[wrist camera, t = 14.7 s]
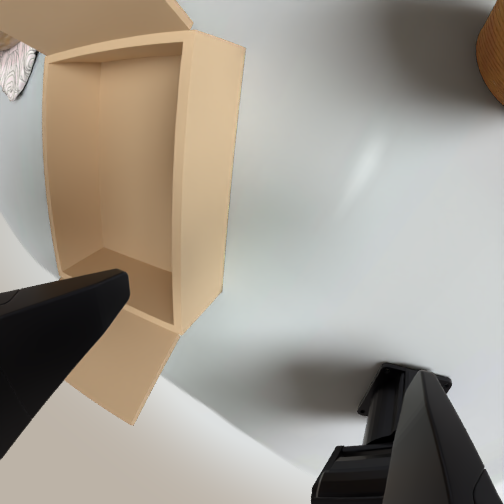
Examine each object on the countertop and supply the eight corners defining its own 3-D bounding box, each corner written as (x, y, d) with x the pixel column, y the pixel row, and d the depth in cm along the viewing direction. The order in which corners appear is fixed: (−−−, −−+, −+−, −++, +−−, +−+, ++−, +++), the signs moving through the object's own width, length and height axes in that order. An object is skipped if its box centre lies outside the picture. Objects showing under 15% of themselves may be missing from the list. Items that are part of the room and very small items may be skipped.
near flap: (47, 56, 16) (50, 50, 16) (189, 30, 12) (193, 22, 12) (-23, 18, 9) (-20, 12, 9) (104, -64, 6) (111, -71, 6)
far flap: (177, 334, 21) (180, 336, 21) (61, 276, 24) (64, 279, 25) (130, 424, 17) (133, 425, 17) (19, 342, 21) (23, 345, 21)
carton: (221, 291, 26) (181, 335, 21) (104, 248, 29) (59, 275, 24) (245, 48, 17) (195, 29, 12) (102, 56, 21) (45, 56, 16)
